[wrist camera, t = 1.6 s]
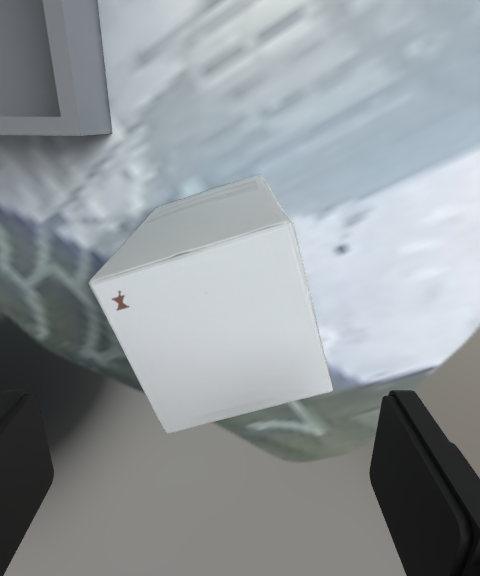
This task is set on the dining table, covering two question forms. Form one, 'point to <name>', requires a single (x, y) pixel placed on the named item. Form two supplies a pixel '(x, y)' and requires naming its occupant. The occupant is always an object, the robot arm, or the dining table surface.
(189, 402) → the supplement box
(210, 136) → the dining table surface
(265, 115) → the dining table surface
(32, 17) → the bin
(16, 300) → the dining table surface
